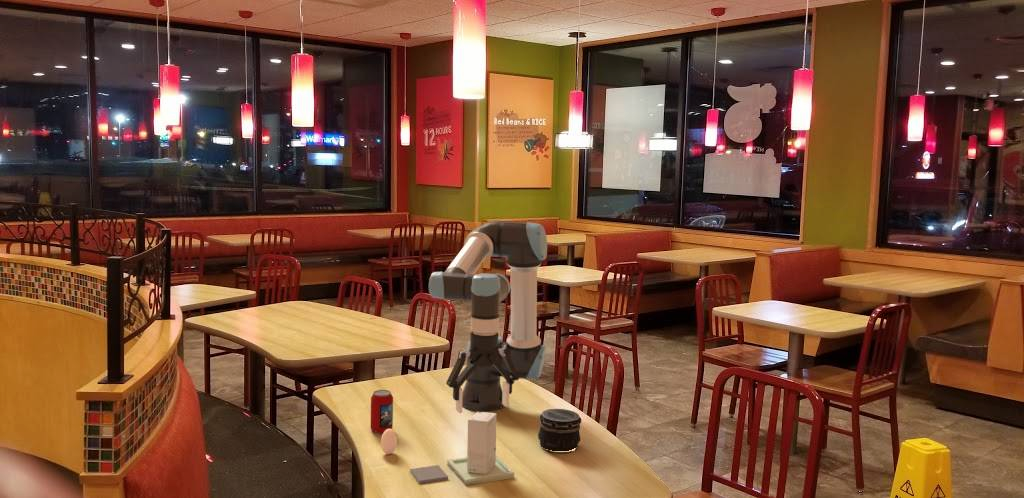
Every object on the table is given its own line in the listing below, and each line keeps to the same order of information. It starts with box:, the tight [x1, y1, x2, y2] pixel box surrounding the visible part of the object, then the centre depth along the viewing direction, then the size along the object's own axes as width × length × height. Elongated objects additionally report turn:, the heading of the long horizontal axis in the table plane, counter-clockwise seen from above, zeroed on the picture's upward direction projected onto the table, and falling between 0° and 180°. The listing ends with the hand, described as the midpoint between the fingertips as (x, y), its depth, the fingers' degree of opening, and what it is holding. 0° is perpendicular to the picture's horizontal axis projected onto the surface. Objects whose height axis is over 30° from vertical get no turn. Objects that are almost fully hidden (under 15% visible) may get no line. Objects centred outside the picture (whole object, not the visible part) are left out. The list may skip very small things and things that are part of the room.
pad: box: [409, 464, 449, 485], centre depth 213 cm, size 8×8×1 cm
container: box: [537, 408, 582, 451], centre depth 236 cm, size 13×13×10 cm
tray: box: [446, 455, 515, 486], centre depth 216 cm, size 14×14×2 cm
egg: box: [380, 428, 398, 455], centre depth 226 cm, size 5×5×7 cm
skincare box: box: [466, 411, 497, 475], centre depth 216 cm, size 8×6×15 cm
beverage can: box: [370, 389, 394, 434], centre depth 244 cm, size 7×7×12 cm
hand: (482, 408), depth 215 cm, fingers open, 13 cm apart
